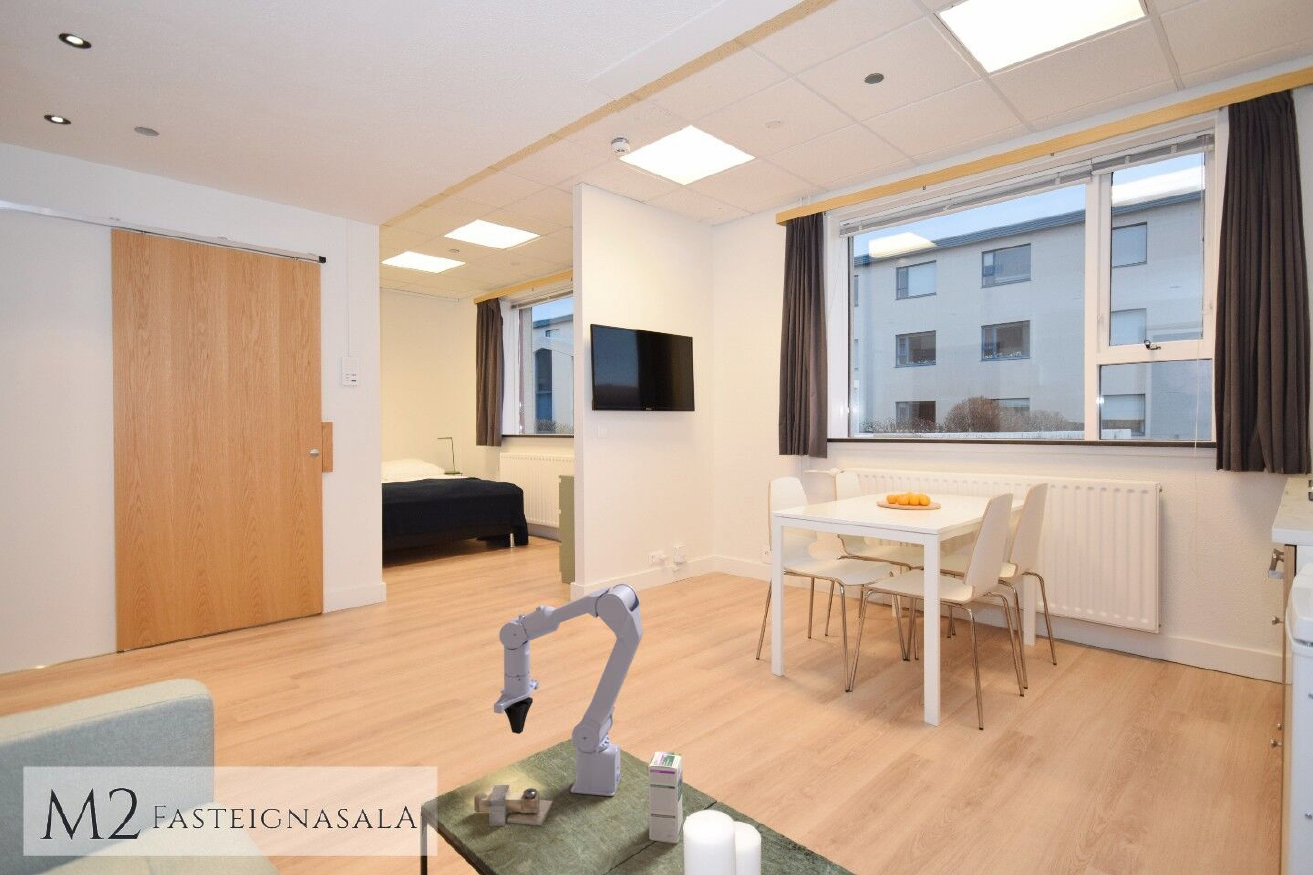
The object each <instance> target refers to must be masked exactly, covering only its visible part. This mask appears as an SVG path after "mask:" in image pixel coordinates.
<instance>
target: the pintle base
mask: <svg viewBox="0 0 1313 875" xmlns="http://www.w3.org/2000/svg"><path fill="white" fill-rule="evenodd" d="M537 791H538V790H537V789H536V788H533V787H532V788H527V789H525V790H524V791H523V792H524V796H525V797H527V799H534V796H536V795H537ZM552 806H553V800H544V799H540V804H539V807H538V811H537V813H521V812H509V813H510V814H509V815H508V816H507V817H506V823H510V824H512V823H513V824H519V825H531V826H539V827H541V826H542V825H543V824H544V822H545V820H546V818H547V816H548V814H549V813H550V810H551V808H552Z"/></svg>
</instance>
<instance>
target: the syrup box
mask: <svg viewBox="0 0 1313 875" xmlns="http://www.w3.org/2000/svg"><path fill="white" fill-rule="evenodd" d="M647 770H648V774H647V775H648V780H647V782H648V834H649V835H648V838H649V840H651V841H656V842H662V843H669V844H679V841H680V837H681V834H682V831H683V829H684V828H683V827H684V800H683V799H684V796H683V795H684V794H683V793H684V791H683V788H684V787H683V786H684V785H683V784H684V782H683V755H682V753H678V752H677V753H676V752H671V751H670V752H669V751H654V753H653V756H652V758H651V759H650V762H649V764H648V767H647Z"/></svg>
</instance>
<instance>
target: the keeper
mask: <svg viewBox="0 0 1313 875" xmlns="http://www.w3.org/2000/svg"><path fill="white" fill-rule="evenodd" d="M491 793H492V794H491V797H490V800H489V812H488V813H489V815H488V819H489V820H488V822H489V823H488V824H489V825H488V826H489V827H505V826H506V823H507V812H506V800H507V796H508V793H510V784H500V785H499V784H498V785H497V784H496V785H493V788H492V791H491Z"/></svg>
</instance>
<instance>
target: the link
mask: <svg viewBox="0 0 1313 875" xmlns="http://www.w3.org/2000/svg"><path fill="white" fill-rule="evenodd" d="M491 794H492V792H479V793H476V794H475V795H474V796H473V797H474V798H473V800H474V803H473V804H474V805H473V806H474V812H476V813H489V800H490V797H491ZM540 795H541V794H540V791H538V790H537V795H536V796H534V799H527V797H525V796H524V791H523V792H522V791H521V792H518V791H517V792H509V793H508V796H507V800H506V813H511V812H521V813H537V811H538V807H539V804H540V800H541V799H540V797H541V796H540Z"/></svg>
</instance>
